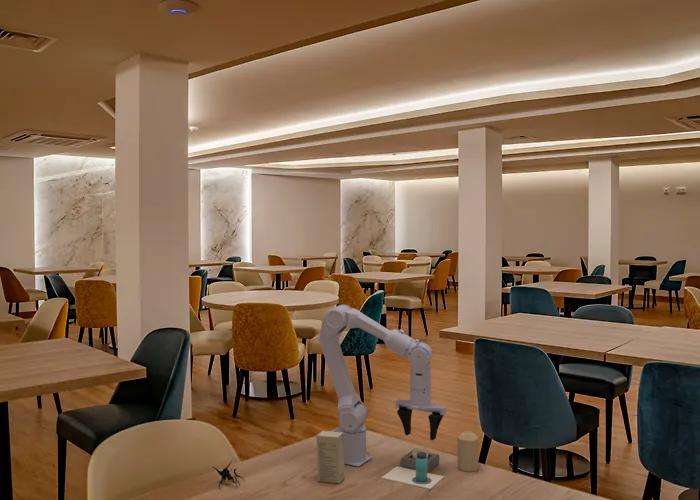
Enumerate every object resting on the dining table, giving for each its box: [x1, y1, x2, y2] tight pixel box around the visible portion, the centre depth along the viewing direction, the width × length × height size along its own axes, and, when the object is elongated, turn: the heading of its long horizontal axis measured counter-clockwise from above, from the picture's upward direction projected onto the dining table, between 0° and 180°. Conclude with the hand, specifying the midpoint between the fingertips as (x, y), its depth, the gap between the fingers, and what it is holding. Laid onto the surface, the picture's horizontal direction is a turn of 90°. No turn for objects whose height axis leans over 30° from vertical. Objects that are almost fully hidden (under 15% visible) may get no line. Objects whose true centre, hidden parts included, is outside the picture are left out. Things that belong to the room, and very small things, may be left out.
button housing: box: [400, 450, 440, 473], centre depth 174 cm, size 8×8×3 cm
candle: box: [457, 430, 479, 473], centre depth 172 cm, size 6×6×10 cm
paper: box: [381, 466, 445, 490], centre depth 165 cm, size 14×9×1 cm, turn 59°
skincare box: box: [316, 430, 346, 484], centre depth 164 cm, size 6×4×12 cm
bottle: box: [416, 452, 427, 483], centre depth 163 cm, size 3×3×7 cm
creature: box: [212, 460, 246, 490], centre depth 161 cm, size 8×5×8 cm
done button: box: [411, 447, 429, 459], centre depth 174 cm, size 4×4×3 cm
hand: (420, 436), depth 173 cm, fingers open, 7 cm apart
